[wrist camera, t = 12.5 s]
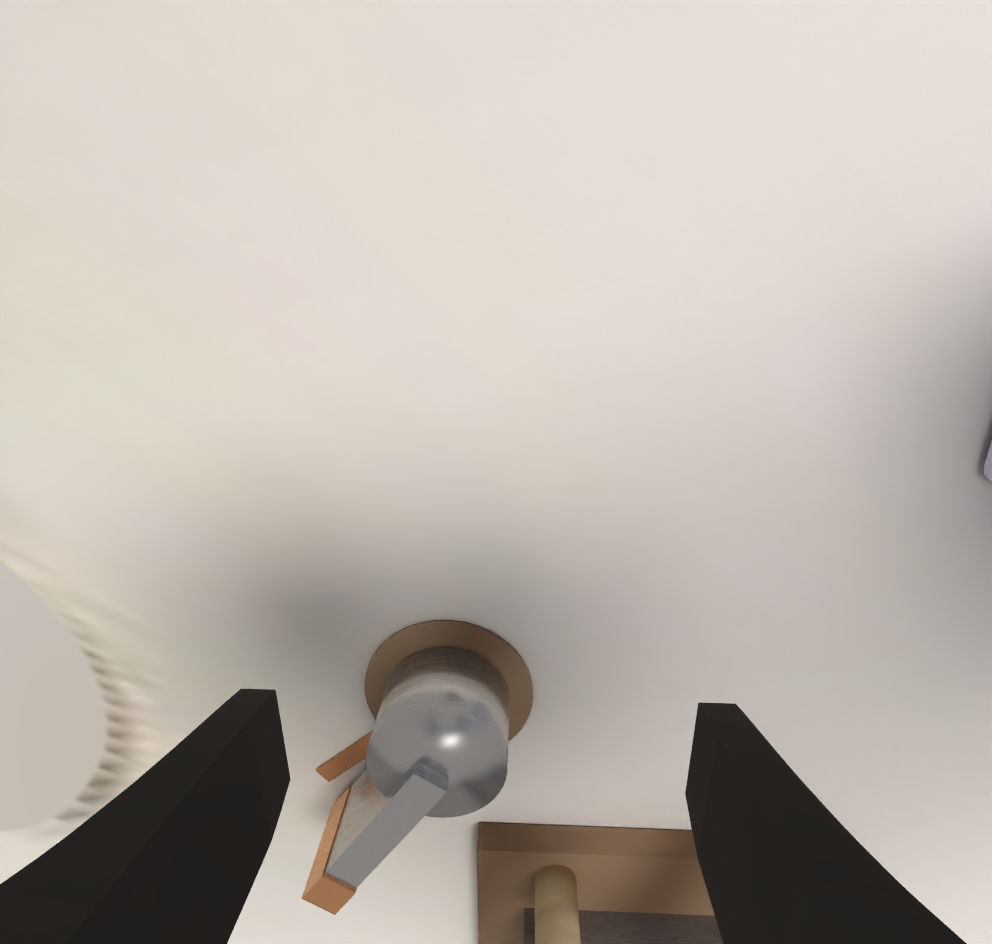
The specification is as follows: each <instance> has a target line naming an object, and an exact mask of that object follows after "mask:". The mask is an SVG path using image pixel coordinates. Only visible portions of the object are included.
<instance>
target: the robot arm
mask: <svg viewBox="0 0 992 944" xmlns="http://www.w3.org/2000/svg"><path fill="white" fill-rule="evenodd" d="M984 474H985V476H986V478H988V479H989V480H990V481H992V441H991V445H990V448H989V451H988V455H987V458H986V461H985V465H984ZM289 782H290V774H289V768H288V762H287V756H286V750H285V744H284V738H283V732H282V726H281V720H280V714H279V708H278V702H277V696H276V690H264V689H240V690H239V691H238V692H237V693H236V694H234V695H233V696H232V697H231V698H230V699H229V700H227V701H226V702H225V703H224V704H223V705H222V706H221V707H220V708H218V709H217V710H216V711H215V712H214V713H213V714H212V715H211V716H209V717H208V718H207V719H206V720H205V721H204V722H203V723H202V724H201V725H199V726H198V727H197V728H196V729H195V730H194V731H193V732H192V733H190V734H189V735H188V736H187V737H186V738H185V739H184V740H183V741H181V742H180V743H179V744H178V745H177V746H176V747H175V748H174V749H172V750H171V751H170V752H169V753H168V754H167V755H165V756H164V757H163V758H162V759H161V760H160V761H159V762H157V763H156V764H155V765H154V766H153V767H152V768H150V769H149V770H148V771H147V772H146V773H145V774H143V775H142V776H141V777H140V778H139V779H138V780H136V781H135V782H134V783H133V784H132V785H130V786H129V787H128V788H127V789H125V790H124V791H123V792H122V793H121V794H119V795H118V796H117V797H116V798H114V799H113V800H112V801H111V802H109V803H108V804H107V805H106V806H104V807H103V808H102V809H101V810H99V811H98V812H97V813H96V814H94V815H93V816H92V817H91V818H89V819H88V820H87V821H86V822H84V823H83V824H82V825H81V826H79V827H78V828H77V829H76V830H74V831H73V832H72V833H71V834H69V835H68V836H67V837H65V838H64V839H63V840H61V841H60V842H59V843H57V844H56V845H55V846H53V847H52V848H51V849H49V850H48V851H47V852H45V853H44V854H42V855H41V856H40V857H38V858H37V859H36V860H34V861H33V862H31V863H30V864H29V865H27V866H26V867H24V868H23V869H21V870H20V871H19V872H17V873H16V874H14V875H13V876H12V877H10V878H9V879H7V880H6V881H4V882H3V883H2V884H0V944H227V942H228V940H229V938H230V935H231V933H232V931H233V929H234V926H235V924H236V922H237V919H238V917H239V915H240V913H241V910H242V908H243V906H244V904H245V901H246V899H247V897H248V894H249V892H250V890H251V887H252V885H253V883H254V881H255V878H256V876H257V874H258V871H259V869H260V867H261V864H262V862H263V860H264V857H265V855H266V853H267V850H268V848H269V845H270V843H271V841H272V837H273V834H274V831H275V828H276V825H277V822H278V819H279V816H280V812H281V809H282V806H283V802H284V799H285V795H286V792H287V789H288V785H289ZM685 794H686V800H687V805H688V811H689V816H690V822H691V827H692V832H693V837H694V842H695V847H696V852H697V857H698V861H699V864H700V868H701V871H702V875H703V878H704V881H705V885H706V888H707V891H708V895H709V898H710V901H711V905H712V908H713V911H714V915H715V918H716V921H717V925H718V928H719V931H720V934H721V938H722V941H723V944H966V943H965V942H964V941H963V940H962V939H961V938H960V937H958V936H957V935H956V934H955V933H954V932H953V931H952V930H951V929H949V928H948V927H947V926H946V925H945V924H944V923H943V922H942V921H940V920H939V919H938V918H937V917H936V916H935V915H934V914H933V913H932V912H930V911H929V910H928V909H927V908H926V907H925V906H924V905H923V904H921V903H920V902H919V901H918V900H917V899H916V898H915V897H914V896H913V895H912V894H911V893H909V892H908V891H907V890H906V889H905V888H904V887H903V886H902V885H901V884H900V883H899V882H898V881H897V880H896V879H895V878H894V877H893V876H892V875H891V874H890V873H889V872H888V871H887V870H886V869H885V868H884V867H883V866H882V865H881V864H880V863H879V862H878V861H877V860H876V859H875V858H874V857H873V856H872V855H871V854H870V853H869V852H868V851H867V850H866V849H865V848H864V847H863V846H862V845H861V844H860V843H859V842H858V841H857V840H856V839H855V838H854V837H853V836H852V835H851V834H850V833H849V832H848V831H847V830H846V829H845V828H844V827H843V825H842V824H841V823H840V822H839V821H838V820H837V819H836V818H835V817H834V816H833V815H832V814H831V813H830V811H829V810H828V809H827V808H826V807H825V806H824V805H823V804H822V803H821V802H820V800H819V799H818V798H817V797H816V796H815V795H814V794H813V793H812V792H811V791H810V790H809V788H808V787H807V786H806V785H805V784H804V783H803V782H802V781H801V779H800V778H799V777H798V776H797V775H796V774H795V773H794V771H793V770H792V769H791V768H790V767H789V766H788V765H787V763H786V762H785V761H784V760H783V759H782V758H781V756H780V755H779V754H778V753H777V752H776V751H775V749H774V748H773V747H772V746H771V745H770V743H769V742H768V741H767V740H766V739H765V737H764V736H763V735H762V734H761V733H760V732H759V730H758V729H757V728H756V727H755V726H754V724H753V723H752V722H751V721H750V720H749V718H748V717H747V716H746V715H745V714H744V712H743V711H742V710H741V709H740V708H739V707H738V706H737V705H736V704H725V703H698V710H697V717H696V724H695V731H694V738H693V745H692V752H691V759H690V765H689V772H688V779H687V786H686V793H685Z"/></svg>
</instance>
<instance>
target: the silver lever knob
mask: <svg viewBox="0 0 992 944" xmlns="http://www.w3.org/2000/svg"><path fill="white" fill-rule="evenodd" d="M509 709H510V695H509V690H508V686H507V684H506V682H505V679H504V678H503V676H502V675H501V673H500V672H499V671H498V670H497V669H496V667H495V666H493V665H492V664H491V663H490V662H489V661H487V660H486V659H484V658H483V657H481V656H479V655H477V654H475V653H472V652H470V651H467V650H463V649H460V648H453V647H434V648H428V649H424V650H421V651H418V652H416V653H413V654H411V655H410V656H408V657H406V658H405V659H404V660H402V661H401V662H400V663H399V664H398V665H397V666H396V667H395V668H394V670H393V671H392V673H391V675H390V677H389V679H388V682H387V686H386V689H385V692H384V696H383V699H382V702H381V706H380V709H379V712H378V715H377V719H376V722H375V725H374V729H373V732H372V735H371V739H370V742H369V745H368V749H367V753H366V766H367V768H366V770H365V771H364V772H363V773H362V774H361V776H360V777H359V778H358V779H357V780H356V781H355V783H354V784H353V785H352V786H349V788H348V789H347V790H346V791H345V792H344V794H343V795H342V796H341V797H340V798H339V799H338V801H337V802H336V803H335V804H334V805H333V806H332V809H331V812H330V815H329V818H328V821H327V824H326V827H325V830H324V833H323V836H322V839H321V842H320V845H319V848H318V851H317V854H316V857H315V860H314V863H313V866H312V869H311V872H310V875H309V878H308V881H307V884H306V887H305V890H304V893H303V896H302V899H304V900H306V901H308V902H310V903H312V904H314V905H316V906H318V907H320V908H322V909H324V910H326V911H328V912H330V913H332V914H334V915H335V914H336V913H337V912H338V911H339V910H340V909H341V908H342V907H343V906H344V905H345V904H346V903H347V902H348V900H349V899H350V898H351V897H352V896H353V895H354V894H355V893H356V889H357V887H358V886H359V885H360V884H361V883H362V882H363V880H364V879H365V878H366V877H367V876H368V875H369V874H370V873H371V872H372V871H373V870H374V869H375V868H376V867H377V866H378V865H379V864H380V862H381V861H382V860H383V859H384V858H385V857H386V856H387V855H388V854H389V853H390V852H391V851H392V850H393V849H394V848H395V847H396V845H397V844H398V843H399V842H400V841H401V840H402V839H403V838H404V837H405V836H406V835H407V834H408V833H409V832H410V831H411V830H412V829H413V827H414V826H415V825H416V824H417V823H418V822H419V821H420V820H421V819H422V818H423V817H424V816H430V817H455V816H461V815H465V814H469V813H471V812H474V811H476V810H478V809H480V808H482V807H484V806H485V805H487V804H488V803H490V802H491V801H492V800H493V799H494V798H495V797H496V796H497V795H498V793H499V792H500V790H501V789H502V787H503V785H504V782H505V780H506V775H507V758H508V733H509Z"/></svg>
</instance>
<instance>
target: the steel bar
mask: <svg viewBox="0 0 992 944" xmlns="http://www.w3.org/2000/svg"><path fill="white" fill-rule="evenodd" d="M578 913H579V927H580V941H581V944H723V941H722V938H721V934H720V931H719V928H718V925H717V921H716V918H715V916H710V915H686V914H662V913H639V912H615V911H591V910H578ZM524 944H535V908H524Z"/></svg>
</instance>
